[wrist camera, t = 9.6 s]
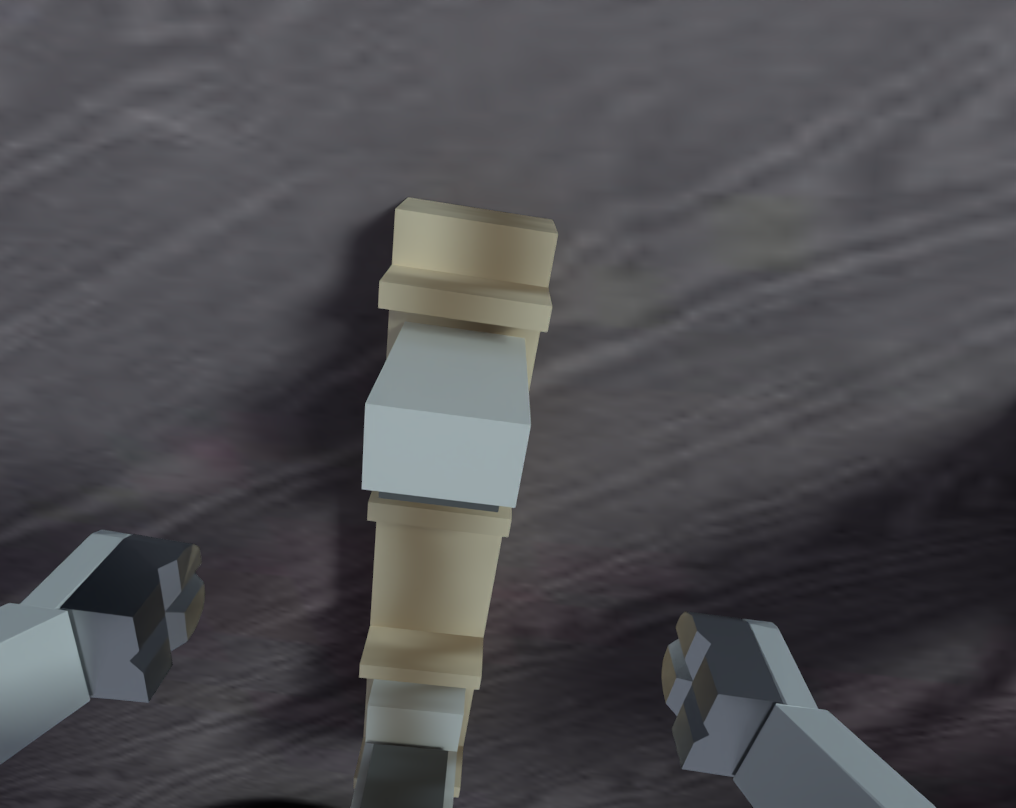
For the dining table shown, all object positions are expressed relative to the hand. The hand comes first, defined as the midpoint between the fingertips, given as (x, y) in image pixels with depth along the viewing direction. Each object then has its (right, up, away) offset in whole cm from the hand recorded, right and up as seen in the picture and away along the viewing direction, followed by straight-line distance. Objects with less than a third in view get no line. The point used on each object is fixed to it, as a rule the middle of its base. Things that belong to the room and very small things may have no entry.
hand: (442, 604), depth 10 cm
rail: (-2, -2, +16) cm, 17 cm away
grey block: (-1, +4, +11) cm, 11 cm away
